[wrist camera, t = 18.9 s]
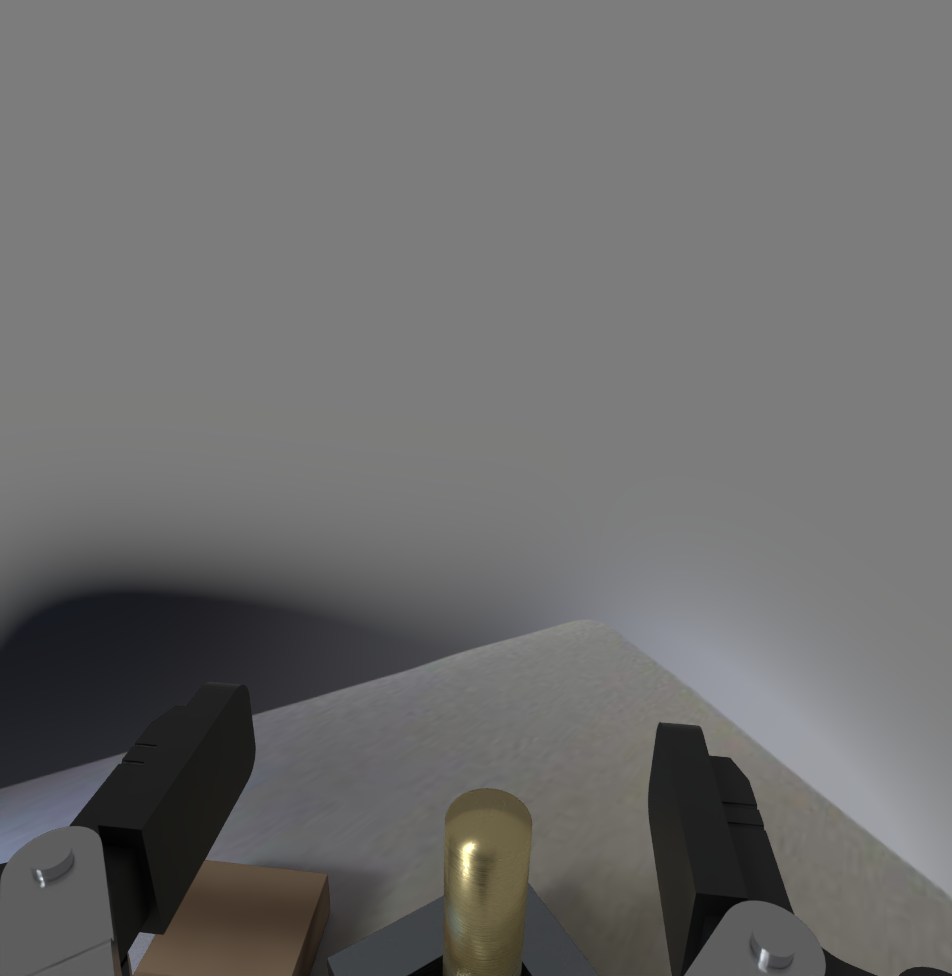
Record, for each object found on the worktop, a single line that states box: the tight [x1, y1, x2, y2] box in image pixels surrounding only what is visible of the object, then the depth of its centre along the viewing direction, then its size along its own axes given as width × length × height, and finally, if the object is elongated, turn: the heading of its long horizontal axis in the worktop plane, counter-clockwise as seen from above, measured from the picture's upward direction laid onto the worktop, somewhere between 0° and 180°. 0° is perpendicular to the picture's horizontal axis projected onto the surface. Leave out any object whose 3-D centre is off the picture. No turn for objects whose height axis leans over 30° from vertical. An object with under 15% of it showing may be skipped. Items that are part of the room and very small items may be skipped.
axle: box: [443, 788, 532, 976], centre depth 32 cm, size 4×4×16 cm
